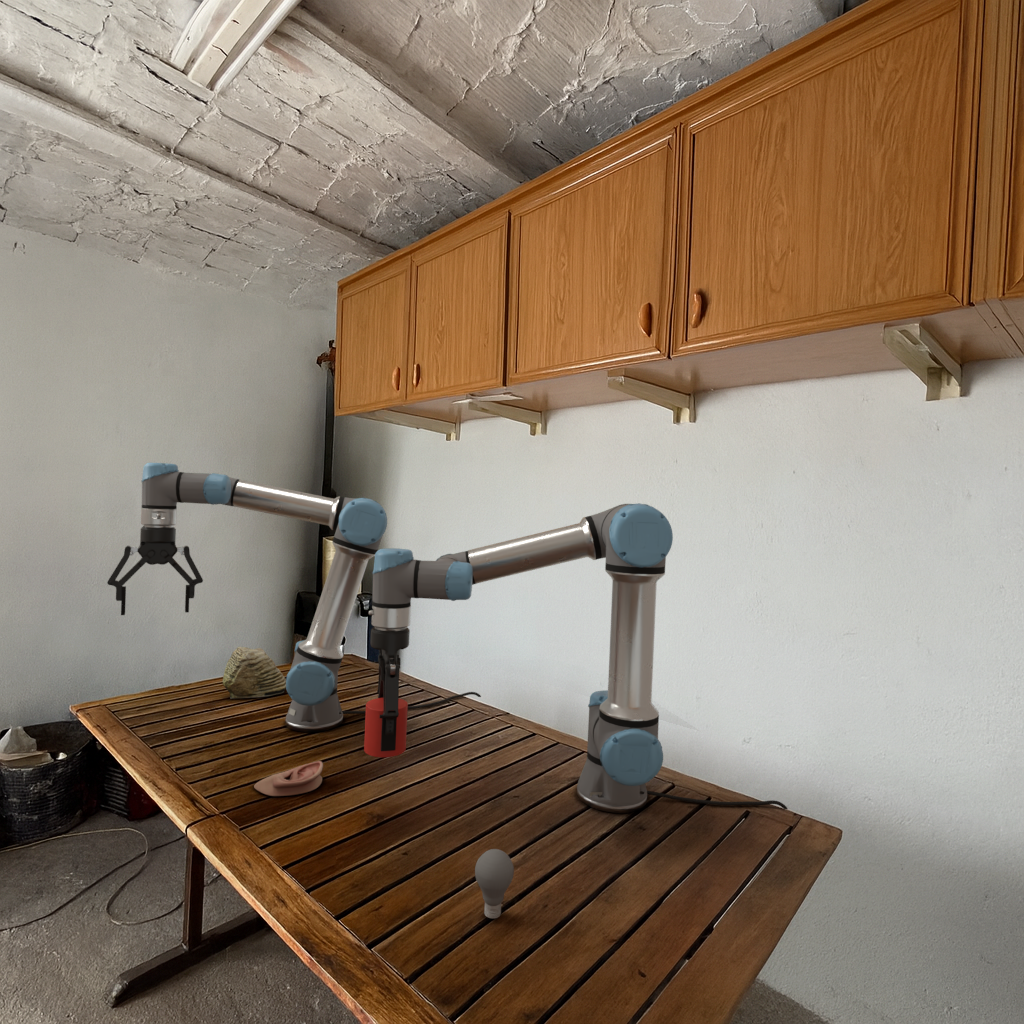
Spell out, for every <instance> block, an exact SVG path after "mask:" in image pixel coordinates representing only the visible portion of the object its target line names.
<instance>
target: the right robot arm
mask: <svg viewBox="0 0 1024 1024" xmlns="http://www.w3.org/2000/svg"><path fill="white" fill-rule="evenodd" d="M673 536H674V533H673V529H672V526H671V523H670V521H669V519H668V518H667V517H666V516H665V514H664V513H662V512H661V511H660V510H658V509H657V508H655V507H654V506H652V505H649V504H647V503H622V504H618V505H616V506H613V507H612V508H608V509H606V510H604V511H600V512H598V513H594V514H591V515H588V516H584V517H582V518H581V520H580V522H579V523H575V524H571V525H566V526H563V527H558V528H554V529H549V530H545V531H541V532H537V533H534V534H529V535H525V536H521V537H516V538H513V539H509V540H505V541H501V542H497V543H493V544H488V545H484V546H481V547H476V548H471V549H468V550H464V551H460V552H456V553H447V554H443V555H441V556H439V557H438V558H437V559H436V560H420V559H415V558H414V555H413V554H414V552H413V551H412V549H411V550H410V549H407V548H395V547H391V548H380V549H378V551H377V552H376V553H375V556H374V560H373V561H374V562H373V571H372V600H371V601H372V602H371V605H372V606H371V608H372V609H371V610H368V615H369V616H371V626H372V628H371V629H370V641H369V642H370V647H371V648H372V649H374V650H377V651H378V653H379V654H378V657H377V661H378V680H377V690H376V693H377V698H383V715H379V718H382V731H381V751H394V750H395V749H396V725H397V717H398V715H399V712H398V701H399V699H400V696H399V694H400V692H399V691H400V669H401V657H400V656H399V654H398V651H400V650H406V649H407V648H408V647H409V646H410V631H411V630H410V628H409V626H410V625H411V616H412V614H411V613H412V601H411V600H412V599H428V600H445V601H448V600H449V601H452V602H455V601H467V600H469V599H470V598H471V596H472V591H473V586H474V585H477V584H481V583H484V582H490V581H493V580H498V579H501V578H506V577H510V576H514V575H518V574H519V575H520V574H522V573H526V572H530V571H534V570H540V569H543V568H547V567H552V566H557V565H561V564H564V563H569V562H573V561H576V560H580V559H584V558H589V559H591V560H592V561H596V560H599V559H600V560H601V559H605V567H604V568H605V569H604V570H605V573H606V574H607V575H608V576H609V577H610V579H611V581H612V583H611V608H610V630H609V631H610V632H609V633H610V634H609V653H608V654H609V656H608V682H607V684H608V685H607V689H606V690H597V691H594V692H592V693H591V694H590V696H589V703H588V706H587V707H588V725H587V746H586V748H587V749H586V761H585V762H584V764H583V768H582V771H581V772H580V776H579V778H578V781H577V784H576V785H577V786H576V795H577V798H578V799H579V800H580V802H582V803H584V804H585V805H587V806H588V807H591V808H592V809H595V810H599V811H602V812H606V813H613V814H614V813H616V814H624V813H625V814H627V813H632V812H637V811H639V810H641V809H643V808H644V807H645V806H646V805H647V804H648V795H649V796H655V797H661V798H665V799H670V800H675V801H680V802H686V803H687V802H688V803H694V804H703V805H714V806H766V805H778V806H779V807H781V808H782V809H783V810H788V809H789V808H788V807H787V805H785V803H783V802H781V801H778V800H774V799H773V800H763V801H762V800H761V801H749V800H748V801H747V800H745V801H717V800H708V799H707V800H705V799H698V798H690V797H683V796H677V795H673V794H667V793H664V792H663V793H662V792H657V791H652V790H648V789H647V785H646V784H647V783H649V782H650V781H651V780H652V779H654V778H656V776H657V775H658V774H659V773H660V771H661V768H662V766H663V762H664V751H663V746H662V744H661V741H660V740H659V723H660V722H659V721H660V711H659V709H658V708H657V707H656V706H655V705H654V704H653V702H652V700H653V698H652V697H653V677H654V676H653V675H654V674H653V673H654V653H655V652H654V651H655V632H656V630H655V629H656V625H655V624H656V606H657V584H658V582H659V581H660V580H661V579H662V578H663V577H664V576H665V575H666V564H667V563H666V560H667V559H666V558H667V556H668V554H669V552H670V551H671V550H672V549H671V548H672V546H673V541H674V540H673V539H674V537H673ZM393 710H394V711H393Z"/></svg>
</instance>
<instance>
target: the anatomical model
mask: <svg viewBox="0 0 1024 1024" xmlns="http://www.w3.org/2000/svg"><path fill="white" fill-rule="evenodd" d="M323 768H324V763H323V761H321V760H318V761H312V762H309V763H306V764H303V765H299V766H297V767H294V768H291V769H288V770H286V771H283V772H278V773H275V774H272V775H269V776H267V777H265V778H263V779H260V780H259V781H257V782H256V783H255V784H254V785H253V788H254V789H255V790H256V791H257V792H259V793H261V794H264V795H266V796H268V797H269V796H270V797H284V796H295V795H301V794H305V793H308V792H312V791H315V790H316V789H317V788H319V787H320V786H321V784H322V783H323V777H322V775H321V774H322V771H323Z"/></svg>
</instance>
